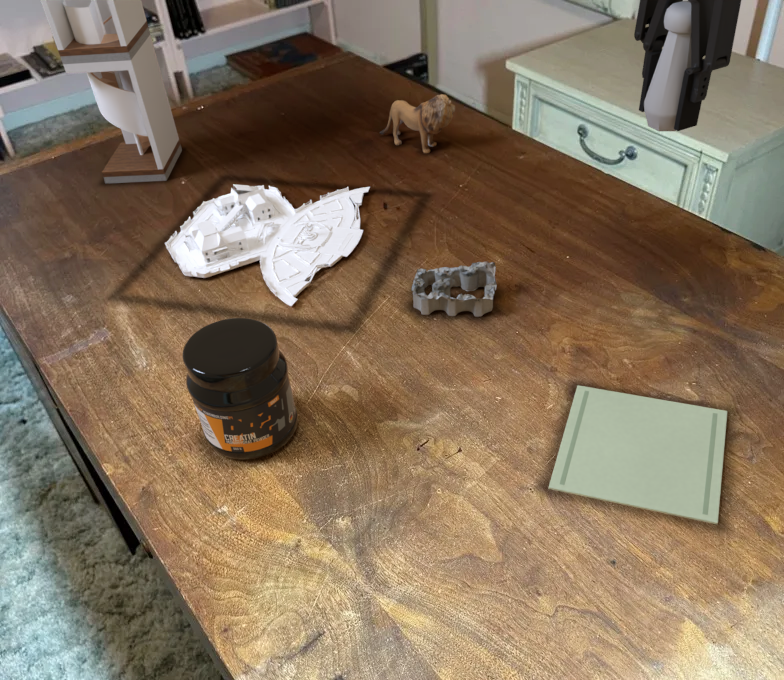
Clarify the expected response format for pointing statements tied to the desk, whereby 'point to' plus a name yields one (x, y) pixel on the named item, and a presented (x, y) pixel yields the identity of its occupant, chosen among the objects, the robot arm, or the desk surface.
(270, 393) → the supplement container
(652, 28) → the robot arm
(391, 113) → the lion figurine
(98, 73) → the tiered tower model
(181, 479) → the desk surface
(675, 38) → the salt shaker
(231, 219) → the architectural model
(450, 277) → the egg carton
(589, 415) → the napkin
